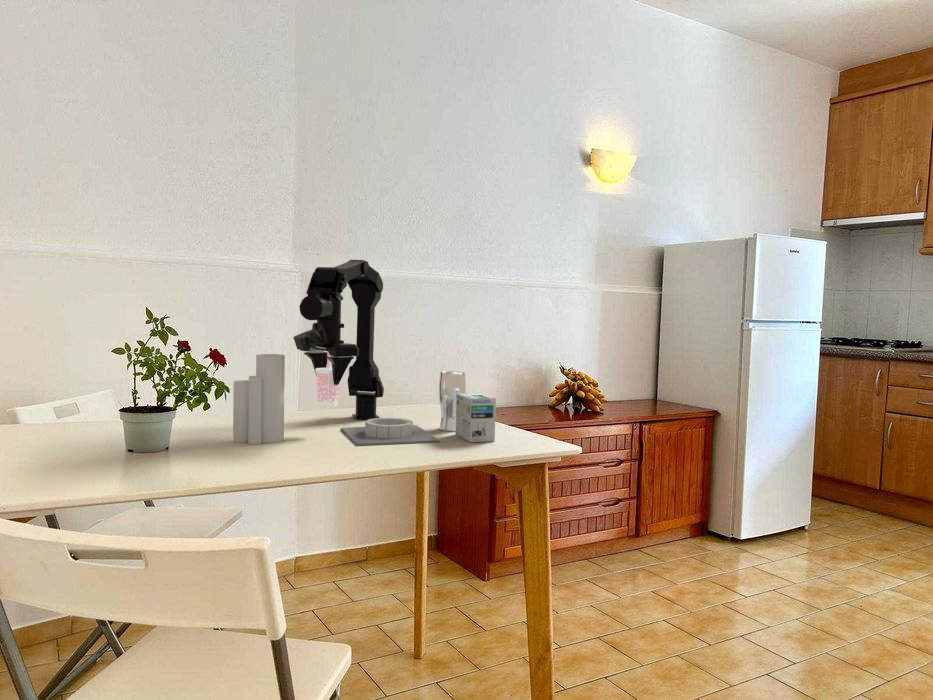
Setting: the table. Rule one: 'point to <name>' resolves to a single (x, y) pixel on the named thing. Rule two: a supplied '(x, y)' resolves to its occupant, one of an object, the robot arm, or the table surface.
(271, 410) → the vase
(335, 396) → the beverage cup
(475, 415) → the light bulb box
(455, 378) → the beer glass
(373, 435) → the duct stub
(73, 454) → the table surface
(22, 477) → the table surface
